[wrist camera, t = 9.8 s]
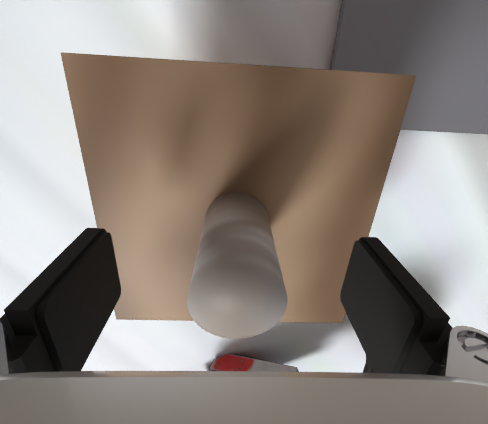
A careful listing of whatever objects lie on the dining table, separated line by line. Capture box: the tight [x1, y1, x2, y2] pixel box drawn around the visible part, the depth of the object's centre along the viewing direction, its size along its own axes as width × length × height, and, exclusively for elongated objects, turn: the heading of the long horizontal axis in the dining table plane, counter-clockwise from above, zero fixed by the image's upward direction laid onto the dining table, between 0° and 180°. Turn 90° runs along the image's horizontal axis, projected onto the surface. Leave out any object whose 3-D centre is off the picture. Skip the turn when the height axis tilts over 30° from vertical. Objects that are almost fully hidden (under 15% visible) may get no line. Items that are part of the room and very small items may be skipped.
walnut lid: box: [61, 53, 416, 339], centre depth 11 cm, size 14×14×6 cm
